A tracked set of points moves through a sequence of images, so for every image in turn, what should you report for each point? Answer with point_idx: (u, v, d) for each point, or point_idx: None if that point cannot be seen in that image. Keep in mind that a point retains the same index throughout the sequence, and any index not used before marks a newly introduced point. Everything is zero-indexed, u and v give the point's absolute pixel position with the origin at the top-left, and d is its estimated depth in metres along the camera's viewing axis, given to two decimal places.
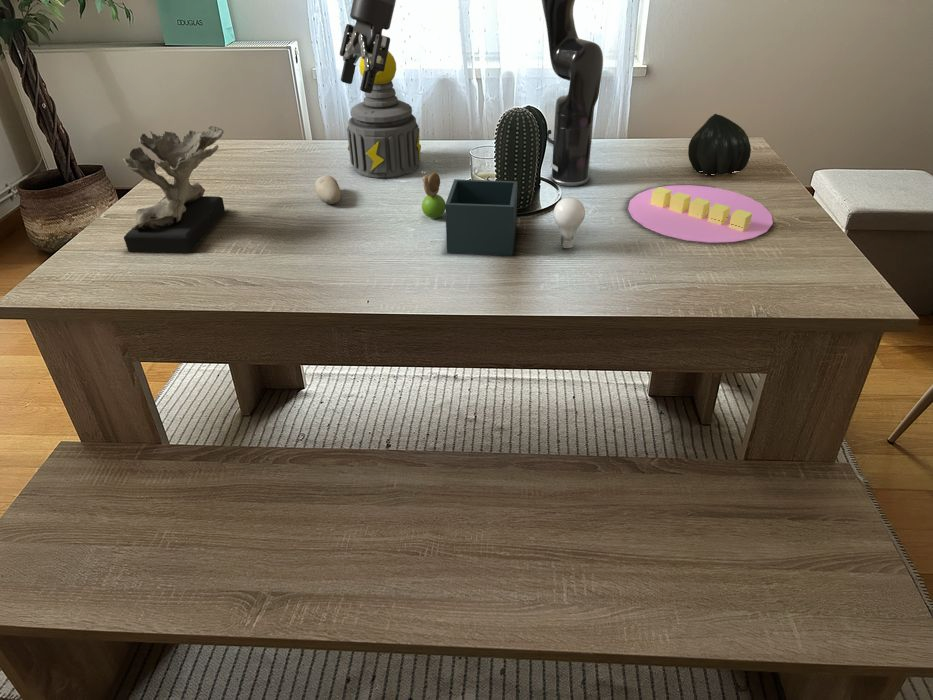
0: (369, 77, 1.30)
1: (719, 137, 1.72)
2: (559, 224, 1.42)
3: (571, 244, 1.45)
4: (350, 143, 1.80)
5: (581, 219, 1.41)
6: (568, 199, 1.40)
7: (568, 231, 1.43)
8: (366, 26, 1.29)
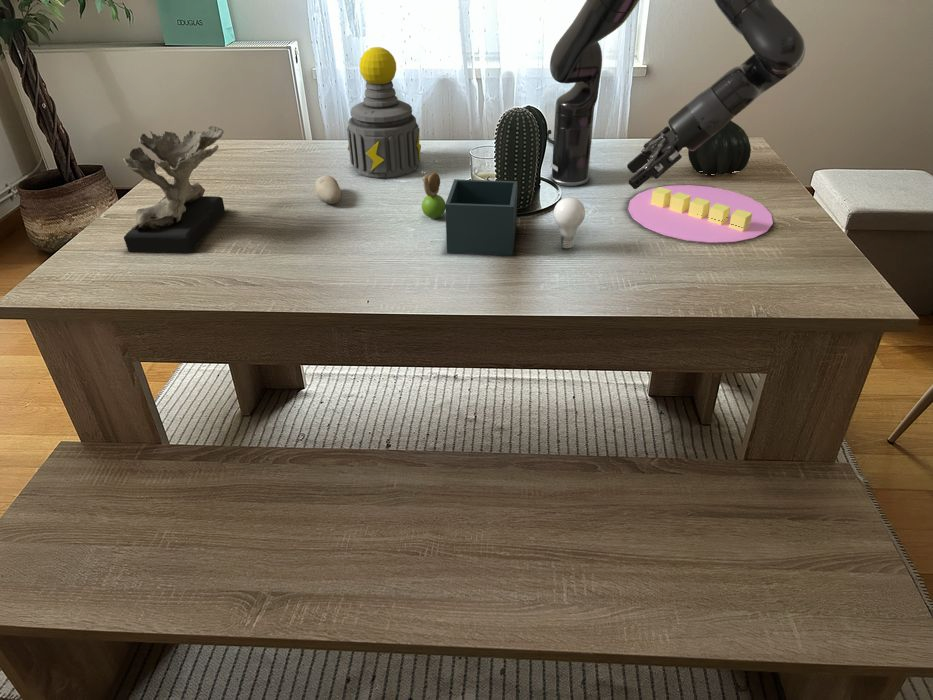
0: None
1: (719, 137, 1.72)
2: (559, 224, 1.42)
3: (571, 244, 1.45)
4: (350, 143, 1.80)
5: (581, 219, 1.41)
6: (568, 199, 1.40)
7: (568, 231, 1.43)
8: None
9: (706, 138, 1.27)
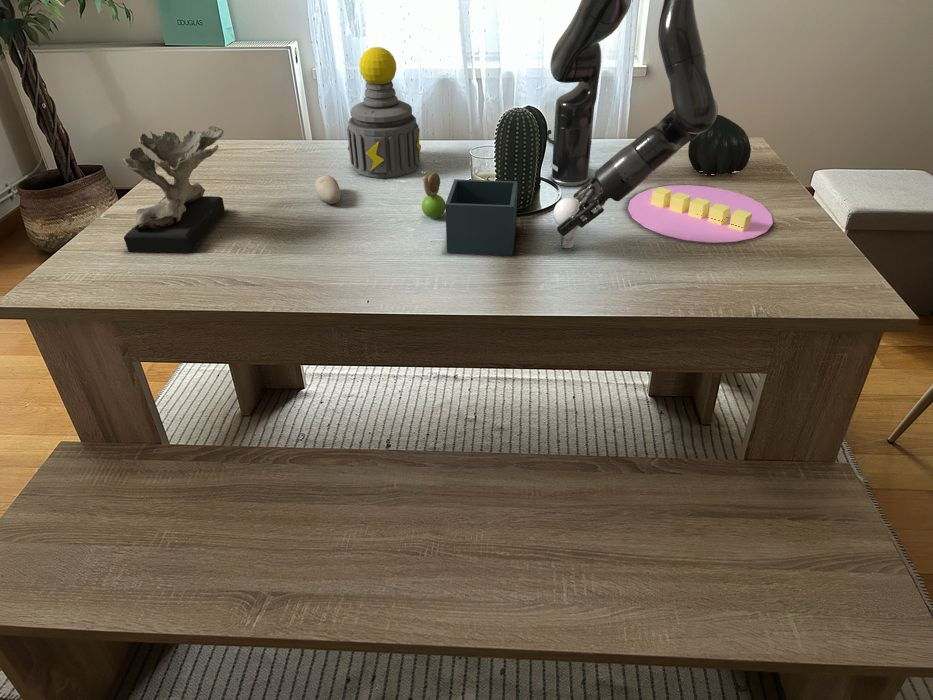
0: None
1: (719, 137, 1.72)
2: (559, 224, 1.42)
3: (571, 244, 1.45)
4: (350, 143, 1.80)
5: None
6: (568, 199, 1.40)
7: None
8: None
9: (629, 190, 1.35)
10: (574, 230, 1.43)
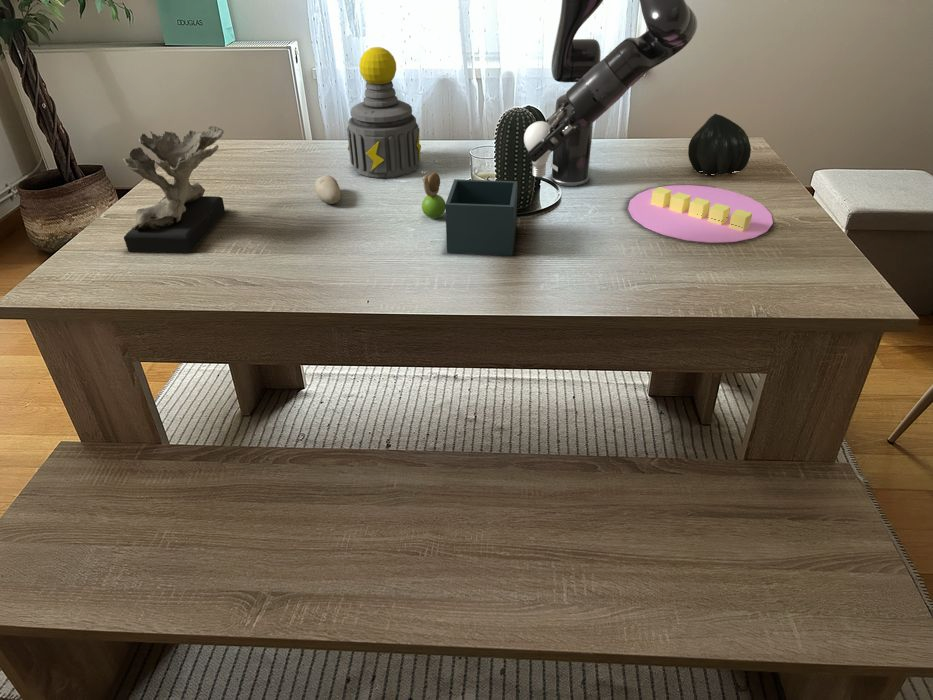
0: None
1: (719, 137, 1.72)
2: None
3: (543, 172, 1.38)
4: (350, 143, 1.80)
5: None
6: (539, 122, 1.33)
7: (540, 157, 1.35)
8: None
9: (602, 110, 1.28)
10: (546, 157, 1.36)
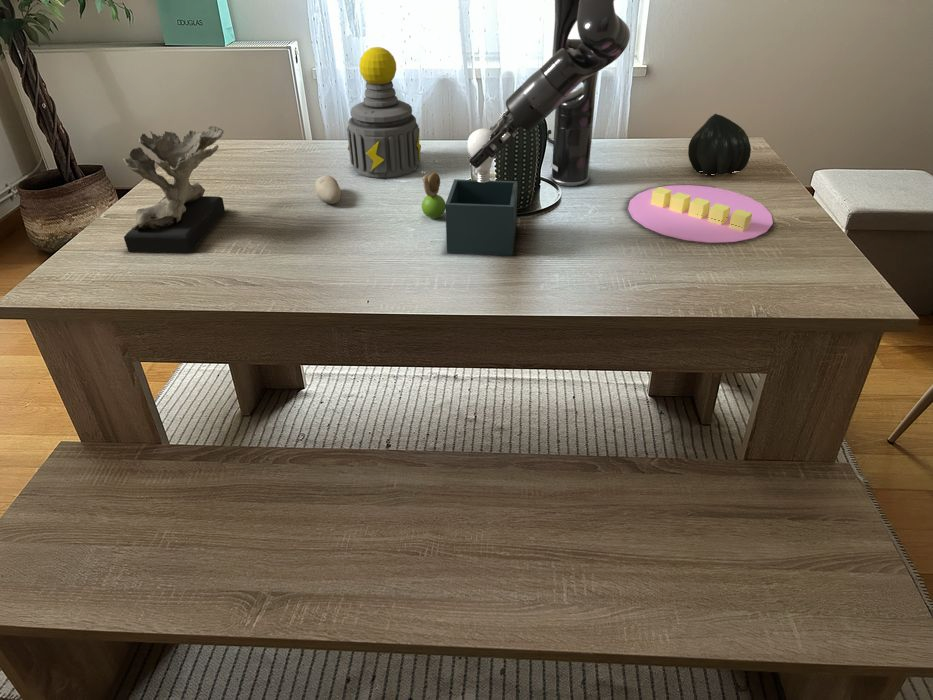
0: None
1: (719, 137, 1.72)
2: None
3: (487, 178, 1.42)
4: (350, 143, 1.80)
5: None
6: (480, 130, 1.37)
7: (482, 163, 1.39)
8: None
9: (540, 118, 1.32)
10: (488, 163, 1.39)
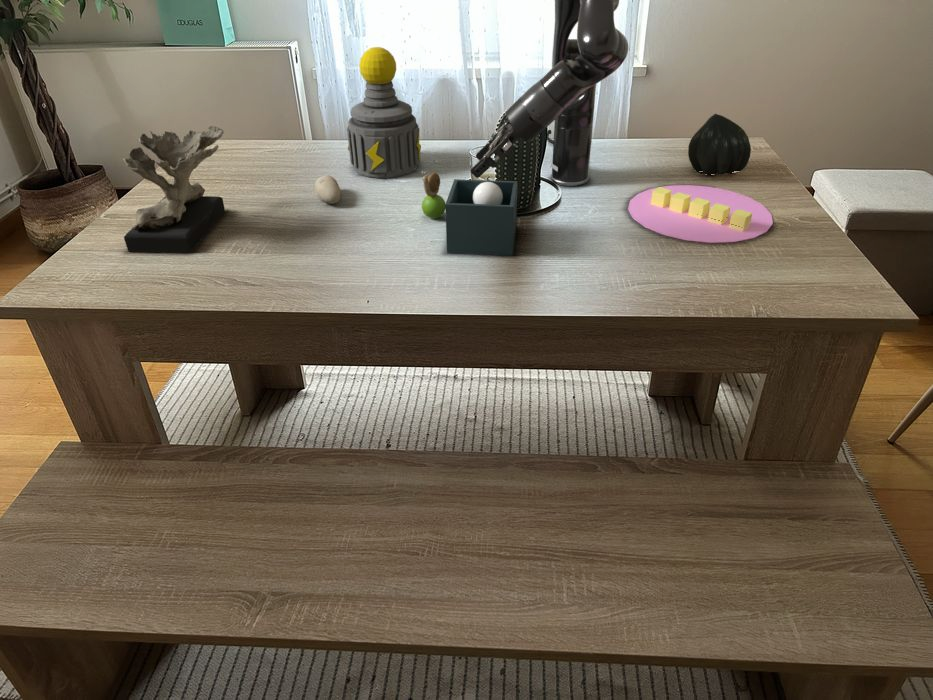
0: None
1: (719, 137, 1.72)
2: None
3: None
4: (350, 143, 1.80)
5: (498, 201, 1.46)
6: (487, 182, 1.46)
7: None
8: None
9: (540, 129, 1.33)
10: None
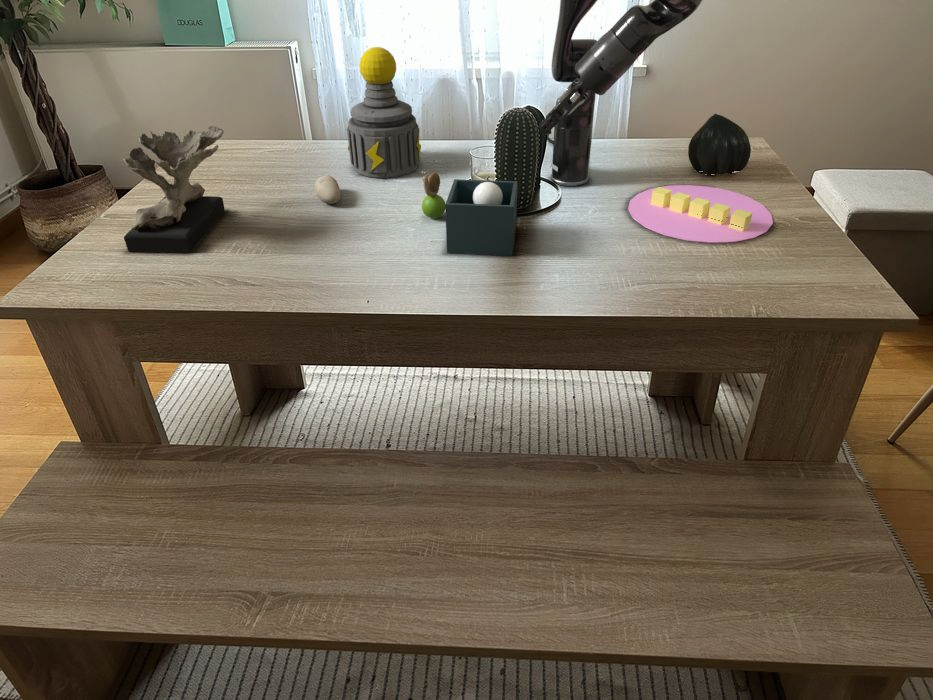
0: None
1: (719, 137, 1.72)
2: None
3: None
4: (350, 143, 1.80)
5: (498, 201, 1.46)
6: (487, 182, 1.46)
7: None
8: None
9: (610, 80, 1.26)
10: None
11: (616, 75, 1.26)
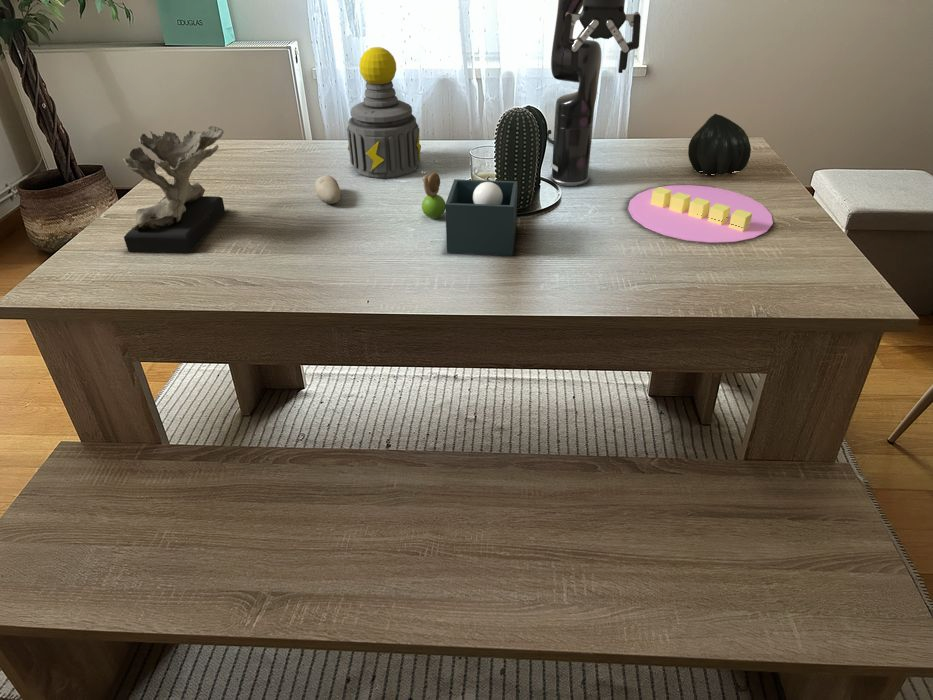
0: None
1: (719, 137, 1.72)
2: None
3: None
4: (350, 143, 1.80)
5: (498, 201, 1.46)
6: (487, 182, 1.46)
7: None
8: (610, 10, 1.28)
9: None
10: None
11: None
